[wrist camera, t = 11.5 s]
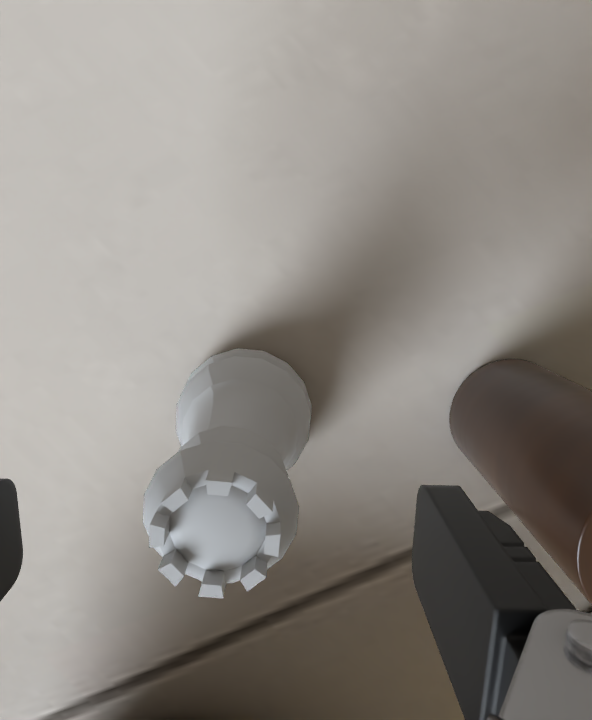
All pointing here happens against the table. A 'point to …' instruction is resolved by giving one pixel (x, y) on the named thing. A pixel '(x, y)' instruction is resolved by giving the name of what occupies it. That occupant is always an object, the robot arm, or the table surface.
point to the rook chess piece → (230, 472)
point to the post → (534, 454)
